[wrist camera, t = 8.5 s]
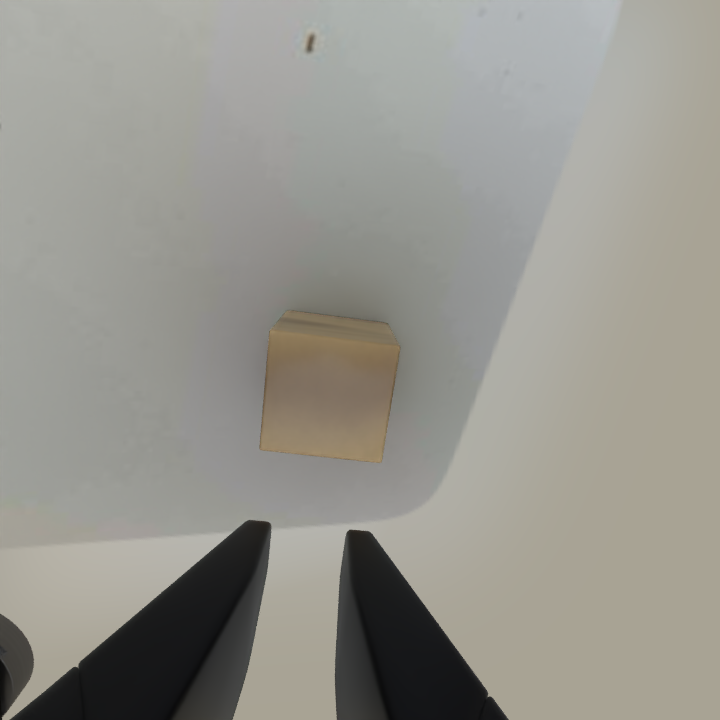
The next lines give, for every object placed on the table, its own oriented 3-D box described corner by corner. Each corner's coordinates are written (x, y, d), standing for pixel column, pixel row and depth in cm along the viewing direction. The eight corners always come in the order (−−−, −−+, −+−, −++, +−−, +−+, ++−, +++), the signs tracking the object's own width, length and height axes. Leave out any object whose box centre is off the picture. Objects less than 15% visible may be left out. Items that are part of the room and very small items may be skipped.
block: (373, 417, 20) (381, 464, 16) (277, 406, 20) (258, 450, 15) (388, 322, 19) (400, 345, 15) (286, 309, 19) (268, 329, 14)
